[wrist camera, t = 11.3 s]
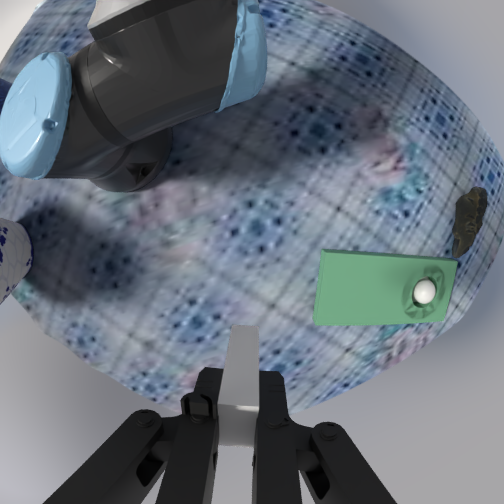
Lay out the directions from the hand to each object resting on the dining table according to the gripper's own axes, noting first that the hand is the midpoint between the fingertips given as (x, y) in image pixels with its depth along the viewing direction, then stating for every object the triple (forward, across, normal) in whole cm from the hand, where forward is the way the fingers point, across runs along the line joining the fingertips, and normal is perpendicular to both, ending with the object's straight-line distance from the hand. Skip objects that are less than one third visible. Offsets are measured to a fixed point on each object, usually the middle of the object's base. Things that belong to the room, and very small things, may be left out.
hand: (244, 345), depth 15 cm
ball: (+22, +28, -4) cm, 36 cm away
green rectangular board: (+24, +22, -4) cm, 33 cm away
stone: (+25, +37, +8) cm, 45 cm away
